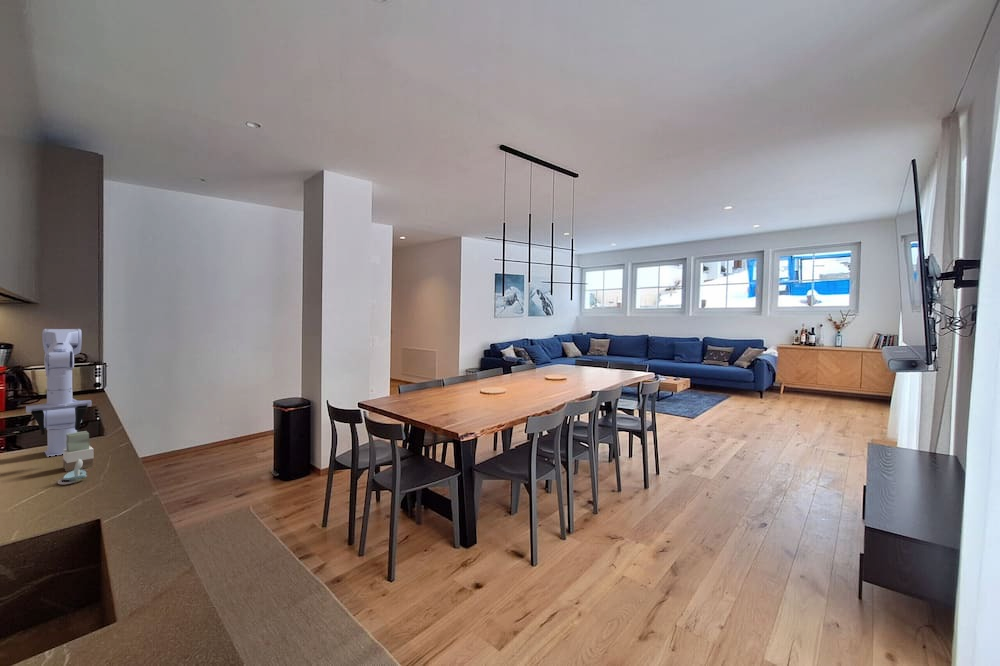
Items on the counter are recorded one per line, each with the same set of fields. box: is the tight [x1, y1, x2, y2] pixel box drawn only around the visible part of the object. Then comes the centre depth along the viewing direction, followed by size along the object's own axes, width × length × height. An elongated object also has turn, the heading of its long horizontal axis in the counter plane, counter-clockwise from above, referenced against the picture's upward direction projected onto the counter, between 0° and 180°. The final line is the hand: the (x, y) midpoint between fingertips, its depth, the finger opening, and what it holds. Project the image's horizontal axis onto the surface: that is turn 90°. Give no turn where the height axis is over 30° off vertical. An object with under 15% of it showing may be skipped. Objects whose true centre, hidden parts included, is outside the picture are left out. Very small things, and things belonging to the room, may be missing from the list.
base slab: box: [62, 458, 94, 472], centre depth 134 cm, size 6×6×3 cm
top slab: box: [62, 444, 95, 463], centre depth 135 cm, size 6×6×3 cm
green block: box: [66, 430, 90, 452], centre depth 134 cm, size 4×4×5 cm
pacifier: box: [57, 459, 88, 486], centre depth 123 cm, size 7×6×6 cm
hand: (60, 431), depth 137 cm, fingers open, 7 cm apart
